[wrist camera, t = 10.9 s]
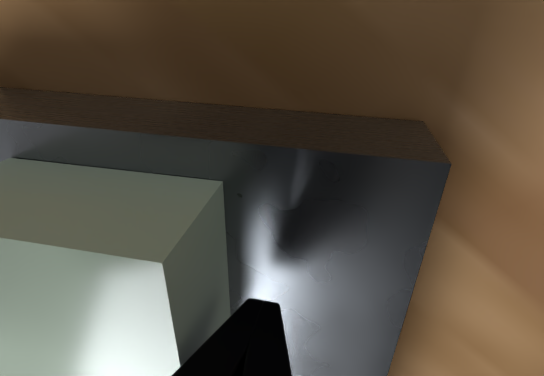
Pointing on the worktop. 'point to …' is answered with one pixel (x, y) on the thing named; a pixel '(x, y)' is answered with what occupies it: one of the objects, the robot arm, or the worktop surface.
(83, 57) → the worktop surface
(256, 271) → the steel plate
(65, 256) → the sage tile
